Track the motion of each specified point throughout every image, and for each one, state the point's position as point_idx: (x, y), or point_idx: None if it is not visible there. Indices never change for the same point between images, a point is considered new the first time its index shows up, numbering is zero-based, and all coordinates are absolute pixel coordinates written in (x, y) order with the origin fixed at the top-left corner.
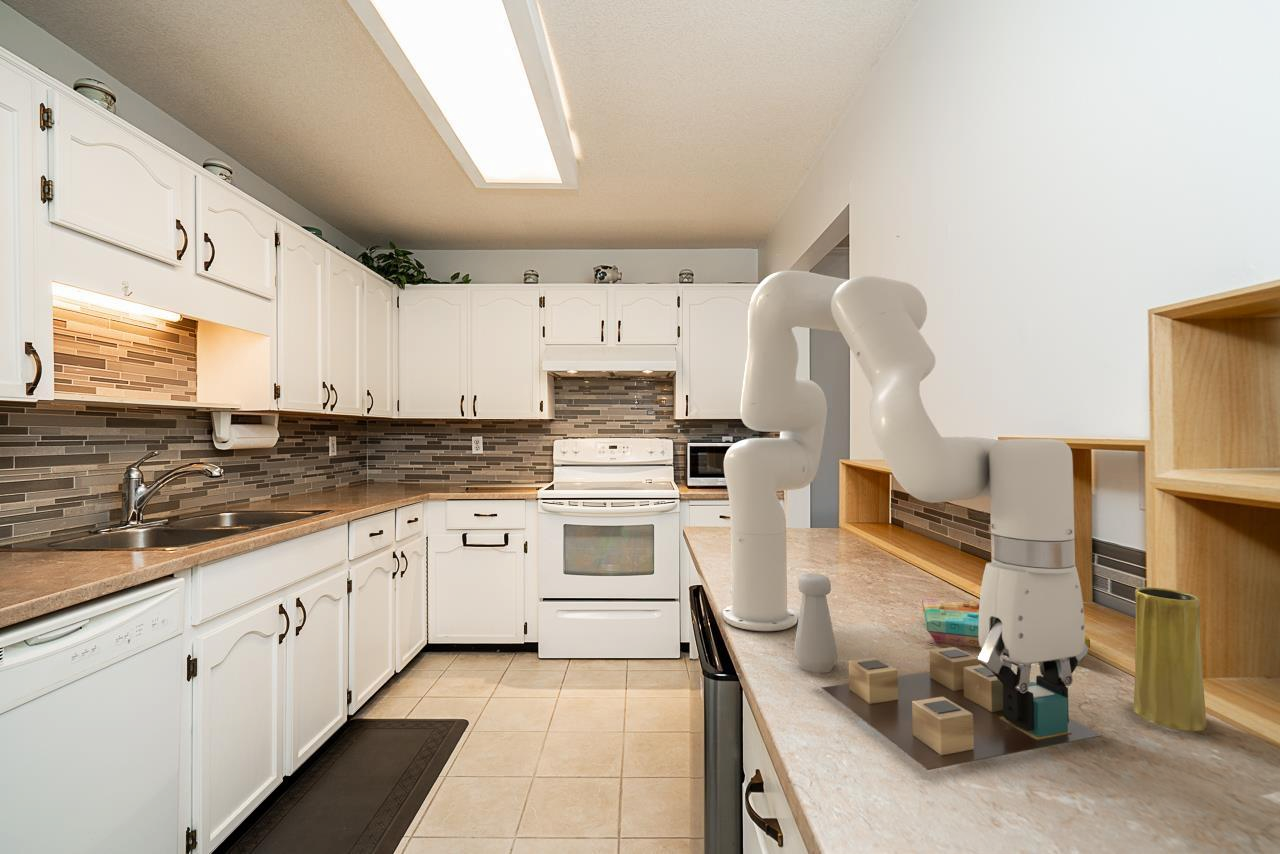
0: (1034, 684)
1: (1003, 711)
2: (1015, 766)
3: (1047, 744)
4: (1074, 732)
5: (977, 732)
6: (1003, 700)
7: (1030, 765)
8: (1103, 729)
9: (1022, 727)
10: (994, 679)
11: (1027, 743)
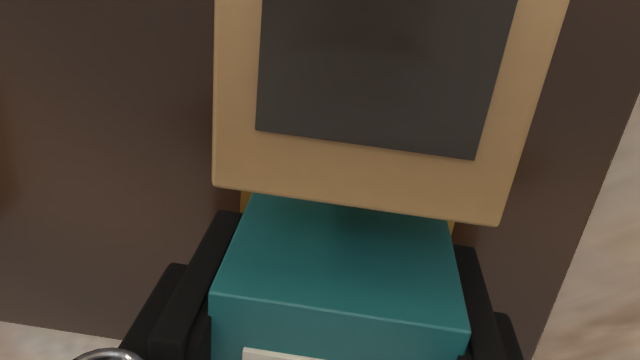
0: (429, 358)
1: (214, 219)
2: (53, 338)
3: None
4: None
5: (37, 197)
6: (196, 255)
7: None
8: (629, 348)
9: None
10: (256, 183)
11: None
